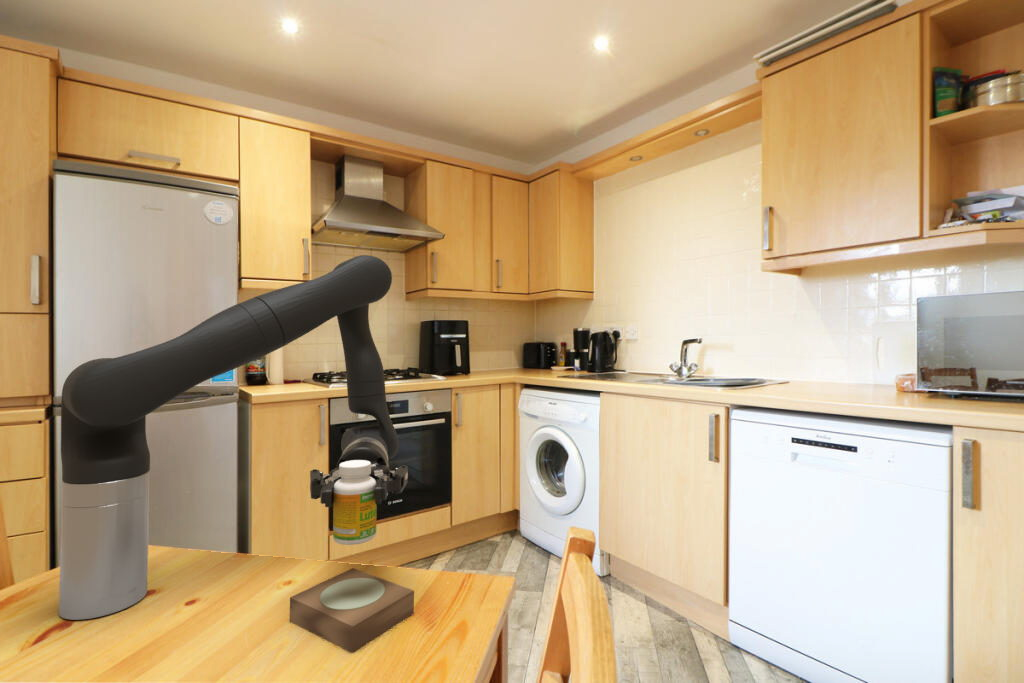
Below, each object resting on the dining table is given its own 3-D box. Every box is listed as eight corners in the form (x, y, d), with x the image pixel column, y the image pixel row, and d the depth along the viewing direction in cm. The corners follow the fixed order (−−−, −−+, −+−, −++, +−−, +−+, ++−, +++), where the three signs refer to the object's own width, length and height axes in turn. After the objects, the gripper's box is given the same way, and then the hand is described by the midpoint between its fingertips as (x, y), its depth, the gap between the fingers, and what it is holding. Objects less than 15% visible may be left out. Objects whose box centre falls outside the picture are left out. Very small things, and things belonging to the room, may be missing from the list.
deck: (289, 620, 62) (290, 595, 62) (352, 588, 71) (353, 566, 71) (352, 652, 56) (352, 624, 56) (413, 613, 64) (414, 589, 64)
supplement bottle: (363, 547, 60) (363, 469, 60) (324, 544, 61) (324, 467, 61) (383, 531, 66) (383, 459, 66) (347, 528, 67) (347, 457, 67)
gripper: (315, 442, 76) (292, 470, 59) (409, 439, 79) (412, 465, 63) (315, 490, 76) (291, 532, 59) (409, 485, 79) (411, 523, 63)
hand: (353, 497), depth 61 cm, fingers closed on supplement bottle, 5 cm apart
